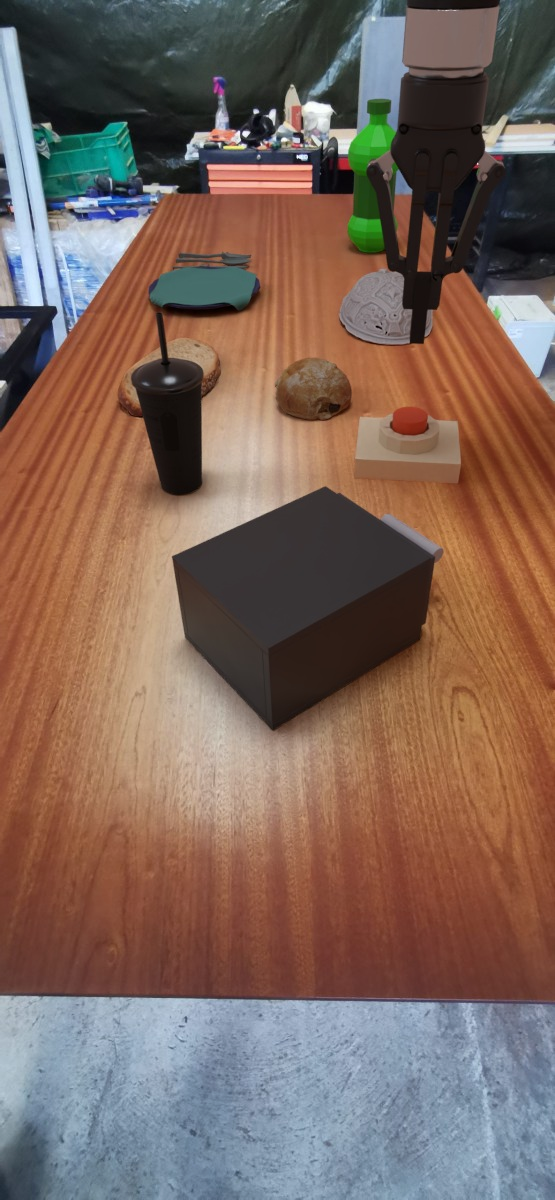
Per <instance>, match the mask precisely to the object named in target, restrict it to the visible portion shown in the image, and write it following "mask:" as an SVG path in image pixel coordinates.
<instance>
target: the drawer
mask: <svg viewBox="0 0 555 1200" xmlns="http://www.w3.org/2000/svg"><path fill="white" fill-rule="evenodd" d="M336 493H337V494H338V495H340V496H341V497H343V498H344V499H346V500H347V501H349V502H350V503H351V504H353V505H354V506H356V507H357V508H359V509H360V510H362V511H363V512H365V513H366V514H368V515H369V516H371V517H372V518H374V519H375V520H377V521H378V522H380V523H381V524H383V525H384V526H386V527H387V528H389V529H390V530H392V531H393V532H395V533H396V534H398V535H399V536H401V537H402V538H404V539H405V540H407V541H408V542H409V543H411V544H412V545H414V546H415V547H417V548H418V549H420V550H421V551H423V552H424V553H426V554H427V555H429V556H430V557H432V559H431V566H430V573H429V580H428V587H427V594H426V601H425V608H424V615H423V622H422V626H424V625H425V624H426V623H427V616H428V610H429V603H430V596H431V589H432V582H433V577H434V576H433V575H434V568H435V564H436V563H438V562H439V561H440V560H441V559H442V557H443V556H444V553H445V551H444V548H443V547H442V546H440V545H439V544H437V543H435V542H434V541H432V540H431V539H429V538H427V537H426V536H424V535H423V534H422V533H420V532H418V531H417V530H416V529H414V528H413V527H411V526H409V525H408V524H407V523H404V522H403V521H402V520H400V519H399V518H397V517H396V516H394V515H393V514H391V513H385V514H384V515H382V516H381V518H378V517H377V516H376V515H374V514H372V513H371V512H369V511H368V510H367V509H365V508H364V507H362V506H360V505H359V504H358V503H356V502H354V501H353V500H351V499H350V498H349V497H347V496H345V495H344V494H342V493H341V492H336Z"/></svg>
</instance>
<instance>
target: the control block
mask: <svg viewBox="0 0 555 1200" xmlns="http://www.w3.org/2000/svg"><path fill="white" fill-rule="evenodd" d="M392 421H393V413H389V414H387V415H385V416H384V417H375V416H373V417H372V416H360V417H359V421H358V430H357V438H356V445H355V454H354V465H353V466H354V468H353V478H354V479H362V480H363V479H364V480H384V481H403V482H404V481H406V482H421V483H442V484H459V480H460V475H461V467H462V457H461V456H462V455H461V446H460V433H459V421H458V420H444V419H443V420H441V419H435V418H434V417H432V416H431V415H428V420H427V428H426V431H425V432H424V433H423V434H419V435H415V436H412V435H402V434H399V433H396V432H394V431H393V429H392Z"/></svg>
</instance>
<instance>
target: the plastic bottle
mask: <svg viewBox="0 0 555 1200" xmlns="http://www.w3.org/2000/svg"><path fill="white" fill-rule="evenodd" d="M366 103H367V104H366V114H369V119H368V121H369V122H368V123H367V125H366V126H364V127H363V128H362V129H361V131H359V132H358V134H357V135H356V136H355V137H354V138H353V139H352V141H351V142H350V144H349V147H348V150H347V160H348V166H349V168H350V169H351V170H352V171H353V201H352V214H351V217H350V218H349V221H348V223H347V235H348V238H349V239H350V241H351V242H352V243H353V245H355V247H357V249H358V250H359V251H360V252H363V253H373V254H374V253H379V252H383V251H384V250H385V247H384V240H383V234H382V228H381V221H380V215H379V209H378V202H377V196H376V192H375V190H374V188H373V186H372V184H371V182H370V181H369V179H368V177H367V174H366V170H367V165H368V162H369V161H370V160H371V159H378V158H379V157H380V156H382V155H383V154H385V153H386V152H387V151H389V150H390V147H391V142H392V140H393V138H394V136H395V134H396V130H395V129H394V128H393V127H392V126H391V125H390V123H388V115H389V114H391V112H392V99H389V98H371V99H368V100H367V102H366ZM392 171H393V172H392V178H391V180H389V185H390V191H391V197H392V204H393V211H394V212H395V198H396V183H397V173H398V171H399V169H398V167H397V165H396V163H395V162H394V163H393V165H392ZM394 218H395V225H396V232H397V233H398V225H399V223H398V221H397V218H396V216H395V214H394Z"/></svg>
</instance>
